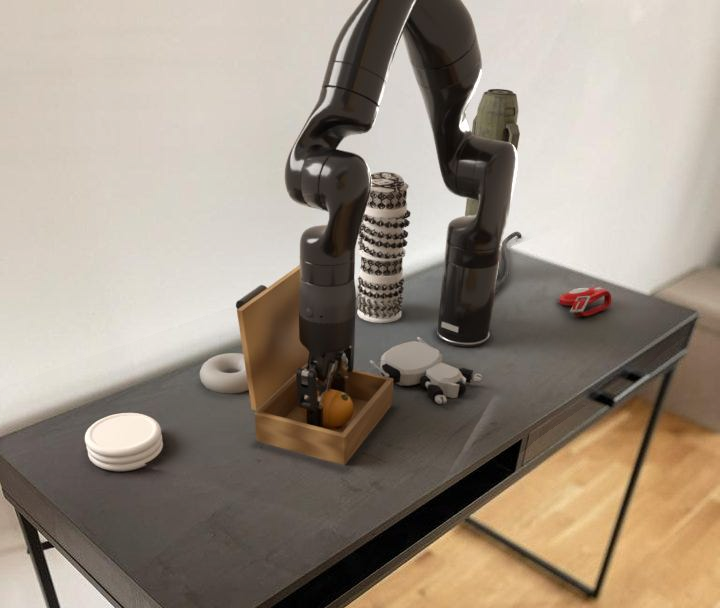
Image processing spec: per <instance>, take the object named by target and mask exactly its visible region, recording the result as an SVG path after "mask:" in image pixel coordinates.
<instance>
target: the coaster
mask: <svg viewBox="0 0 720 608" xmlns="http://www.w3.org/2000/svg"><path fill="white" fill-rule="evenodd" d="M84 443H85V445H86V446H85V447H86V451H87V457H88V458H89V461H90V462H92V464H93V465H94V466H96V467H98V468H99V469H101V470H106V471H109V472H110V471H111V472H129V471H134V470H135V471H136V470H138V469H141V468H144V467H145V466H148V465H149V464H148V462H150V461H152V460H153V459H155V458H156V457H157V456H159V454H160V453H161V451H162V450H163V447H164V442H163V435H162V428H161V426H160V424H159V422H158V421H156V419H154V418H152V417H150V416H149V415H146V414H143V413H137V412H121V413H114V414H110V415H108V416H105V417H103V418H100V419H98V420H97V421H95V422H94V423H93V424H91V425H90V426H89V427H88V428H87V429H86V431H85V434H84Z"/></svg>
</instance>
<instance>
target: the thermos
mask: <svg viewBox="0 0 720 608" xmlns="http://www.w3.org/2000/svg"><path fill="white" fill-rule="evenodd" d="M519 112H520V111H519V102H518V97H517V94H516V93H514V91H512V90H510V89H503V88H490V89H488V90H487V91H484V92H483V94H482V96H481V97H480V100H479V104H478V106H477V110H476V115H475V117H474V119H473V120H472V126H471V127H472V129H471V132H472V133H473V134H474V135H476V136H480V137H485V138H491V139H495V140H501V141H505V142H509V143H511V144H512V145H513V146H514V147H515V149H516V152H517V153H518V146H519V143H520V142H519V141H520V135H521V133H520V128H519V124H518V117H519ZM478 206H479V201H477V200H472V199H468V198H466V203H465V211H464V216H468V215H475V214H477V210H478ZM502 246H503V244H501V251H500V258H499V266H498V268H499V267H500V265H501V260H502ZM498 274H499V272H498V273H497V276H498Z"/></svg>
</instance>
